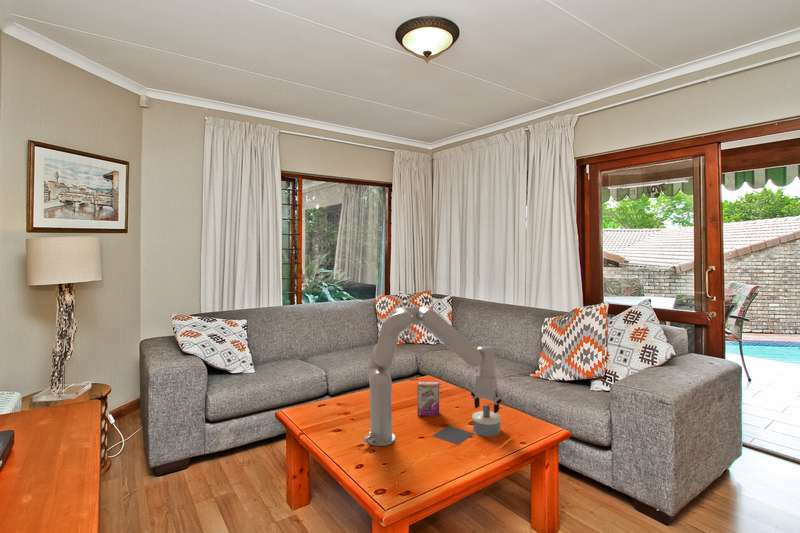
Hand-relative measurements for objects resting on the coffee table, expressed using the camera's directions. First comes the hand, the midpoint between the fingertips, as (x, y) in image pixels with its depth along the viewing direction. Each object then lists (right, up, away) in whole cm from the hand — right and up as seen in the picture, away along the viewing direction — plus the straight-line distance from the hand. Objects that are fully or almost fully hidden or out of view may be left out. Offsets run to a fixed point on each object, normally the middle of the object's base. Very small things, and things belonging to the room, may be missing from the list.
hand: (486, 409), depth 191 cm
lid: (0, -4, 0) cm, 4 cm away
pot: (0, -10, 0) cm, 10 cm away
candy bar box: (-25, -10, +21) cm, 35 cm away
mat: (-16, -11, -3) cm, 19 cm away
